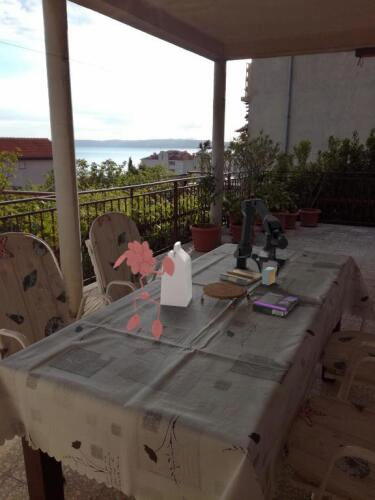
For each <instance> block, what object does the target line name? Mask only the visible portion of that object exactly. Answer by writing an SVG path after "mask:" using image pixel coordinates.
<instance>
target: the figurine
mask: <svg viewBox="0 0 375 500" xmlns="http://www.w3.org/2000/svg"><path fill="white" fill-rule="evenodd" d="M127 247H128V250H126V251H124V253H123V254H122V255H120V257H118V259H117V260H116V261H115V264H114V265H113V269H116V268H117V267H118V266H120V265H121V264H122V263H123V262H124V261H125V260H126V259H127V260H126V265H127V266H128V267H130V270H131V272H132V274H133V275H137V274H138V273H140V275H141V277H139V282H140V285H141V289H142V293H141V295H140V296H138V297H135V298H134V299H133V300H134V301H133V303H134V305H133V306H134V315H133V316H132V317H130V319H129V320H128V323H126V325H127V328H126V333H129V332H131V331H133V330H134V329H135V328H136V327H137V326H139V328H140V329H142V325H141V323H140V316H139V315H138V314H137V310H136V300H137V299H142V300H143V301H151V302H153V303H155V304H157V305H159V307H158V314H157V319H156V320H154V322H153V324H152V326H151V332H152V334H153V337H154V338H155V339H156V340H157V341H158V340H159V338H160V337H161V336H162V334H163V324H162V322H161V321H160V320H159V319H160V314H161V313H160V312H161V308H162V307H161V306H162V305H161V304H160V303H159V302H157V301H155V300H153V299H151V298H150V295H149V293H147V292H145V289H144V285H143V281H142V280H143V278H145V277H146V276H147V274H152V273H155V274H158V275H161V276H162V275H164V272H166V273H167V274H168V275H170V276H171V277H172V275H173V273H174V270H175V265H174V262H173V261H172V260H171V258H169V257H168V255H165V256H164V258H163V259H162V263H163V264H161V266H162V265H163V273H162V272H160V271H156V270H153V266H155V265H156V264H157V263H158V261H157V259H156V258H154V257H153V255H154V252H153V250H152V249H150V246H149V243H148V242H147V241H143V242H142V244H141V243H140V242H139V241H137V240H133V242H128V244H127ZM119 342H120V344H122V345H123V346H126V347H127V348H132V349H135V347H134V346H129V345H126V344H124V343H122V342H121V341H119ZM157 348H160V347H159V346H158V347H156V349H157ZM136 349H140V350H146V348H142V347H141V348H140V347H136ZM151 349H154V347H152V348H151V347H150V348H148V350H151Z"/></svg>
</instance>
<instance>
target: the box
mask: <svg viewBox="0 0 375 500" xmlns="http://www.w3.org/2000/svg"><path fill="white" fill-rule="evenodd" d="M297 301H298V302H299V297H297V296H293V295H288V294H284V293H283V294H282V293H279V292H275V291H274V292H273V291H270V290H269V291H267V292H266V293H264V294H263V295H262V296H261V297H258V299H256V300H255V301H254V302H252V308H251V309H252V310H253V311H257V312H261V313H264V312H265V314H269V313H271V314H270V315H273V314H277V315H281V316H285V315H286V314H287V312H288V311H289V310H290V309H291V308H292V307H293V306H294V305H295V304H296V302H297ZM296 305H297V304H296ZM296 305H295V306H296ZM295 306H294V307H295ZM294 307H293V308H294ZM293 308H292V309H293ZM292 309H291V310H292ZM291 310H290V311H291ZM290 311H289V312H290ZM277 315H276V316H277ZM287 315H288V314H287ZM281 316H280V317H281ZM285 317H286V316H285Z"/></svg>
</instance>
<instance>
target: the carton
mask: <svg viewBox="0 0 375 500" xmlns="http://www.w3.org/2000/svg"><path fill="white" fill-rule="evenodd" d="M262 274H263V275H262V278H261V279H262V280H261V285H262V284H266V285H270V284H272V283H274V284H275V281H276V279H275V278H276V268H275V267H272V266H267V267H265V268H262ZM266 285H265V286H266ZM272 285H273V284H272ZM270 286H271V285H270Z"/></svg>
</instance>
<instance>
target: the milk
mask: <svg viewBox="0 0 375 500" xmlns="http://www.w3.org/2000/svg"><path fill="white" fill-rule="evenodd" d="M181 244H182V243H181V241H177V242H175V244H174V245H173V250H172V249H171V250H170V251H169V252H168V253H166V254H167V255H166V256H167V257H169V258H171V260H172V261H173V262H174V265H175V270H174V273H173V275H172V277H171V276H170V275H168V274H167V273H166V272H164V275H162V274H161V279H160V280H161V281H160V283H161V285H160V286H161V287H160V301H159V302H160V303H159V304H160V305H161V306H174V307H183V308H184V307H185V308H186V307H188V305H189V304H190V302H191V300H192V299H193V285H192V283H193V282H192V280H193V279H192V258H191V256H190V254H188V253H187V251H185V250H184V249H183V248H182V246H181ZM162 264H163V262H162ZM162 264H161V273H163V265H162Z"/></svg>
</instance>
